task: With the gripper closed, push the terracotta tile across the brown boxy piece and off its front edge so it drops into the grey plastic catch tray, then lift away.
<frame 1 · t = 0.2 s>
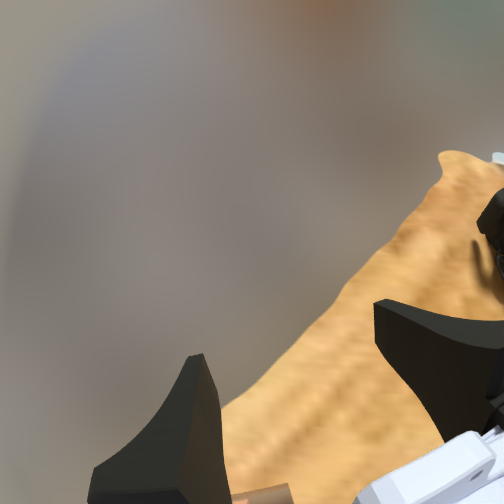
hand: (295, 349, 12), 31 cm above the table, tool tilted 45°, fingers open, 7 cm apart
milk frother: (503, 253, 46), on the table
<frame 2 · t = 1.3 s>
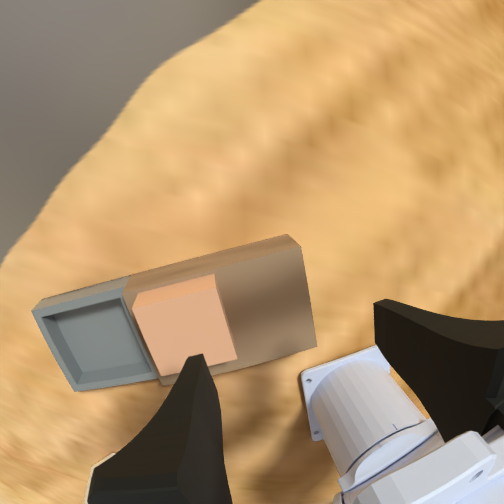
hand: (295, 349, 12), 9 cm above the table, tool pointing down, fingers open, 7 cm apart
tile: (187, 318, 18), point 3 cm above the table, touching brown boxy piece
brown boxy piece: (221, 302, 22), on the table
tray: (102, 331, 21), on the table
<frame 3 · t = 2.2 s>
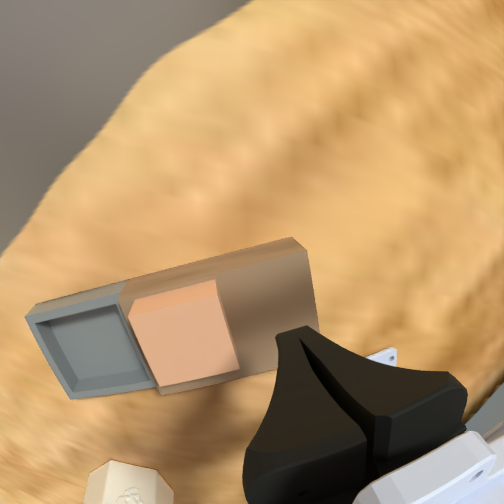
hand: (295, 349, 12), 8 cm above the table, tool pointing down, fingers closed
jar: (131, 481, 25), on the table
tile: (186, 325, 17), point 3 cm above the table, touching brown boxy piece
brown boxy piece: (222, 308, 21), on the table
tray: (98, 337, 20), on the table
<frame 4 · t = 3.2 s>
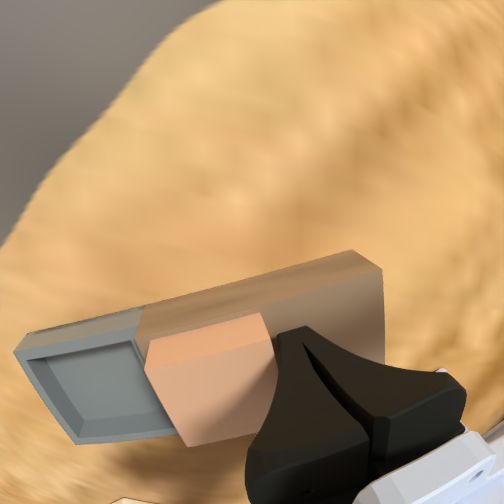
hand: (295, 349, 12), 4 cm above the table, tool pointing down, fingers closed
tile: (219, 370, 13), point 3 cm above the table, touching gripper, brown boxy piece
brown boxy piece: (265, 338, 16), on the table
tray: (106, 374, 16), on the table
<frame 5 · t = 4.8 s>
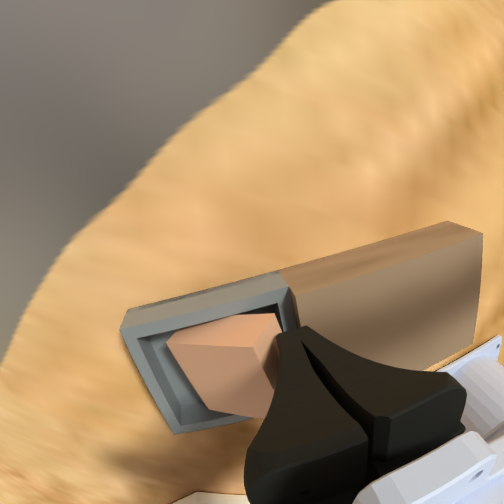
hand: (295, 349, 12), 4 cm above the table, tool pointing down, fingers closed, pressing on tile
tile: (247, 353, 14), point 2 cm above the table, tilted 37°, touching gripper
brown boxy piece: (379, 302, 17), on the table
tray: (220, 350, 16), on the table
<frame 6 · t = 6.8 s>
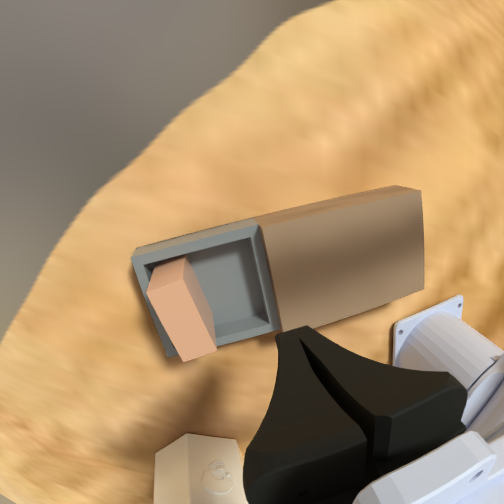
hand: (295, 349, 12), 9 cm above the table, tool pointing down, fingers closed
jar: (201, 457, 26), on the table
tile: (199, 298, 18), point 3 cm above the table, tilted 90°, touching tray
brown boxy piece: (337, 249, 22), on the table
tray: (207, 283, 21), on the table
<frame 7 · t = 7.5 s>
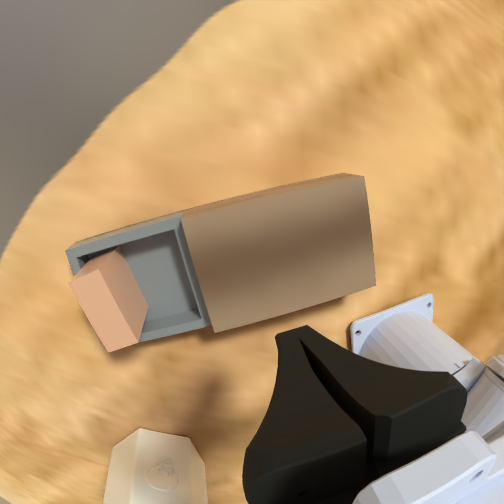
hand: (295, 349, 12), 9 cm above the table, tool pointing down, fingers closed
jar: (158, 454, 25), on the table
tile: (126, 290, 18), point 3 cm above the table, tilted 90°, touching tray
brown boxy piece: (277, 242, 21), on the table
tray: (143, 277, 20), on the table
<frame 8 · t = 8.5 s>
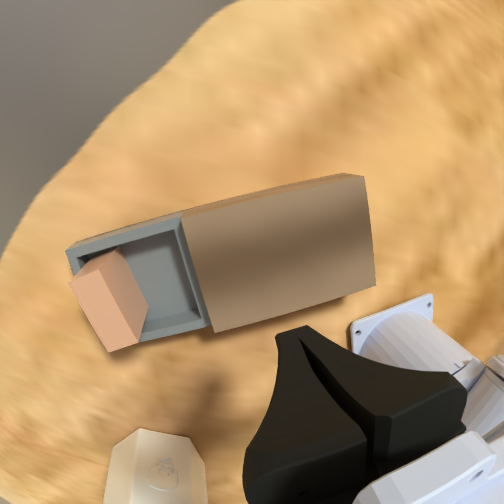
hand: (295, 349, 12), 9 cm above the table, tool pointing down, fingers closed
jar: (158, 454, 25), on the table
tile: (126, 290, 18), point 3 cm above the table, tilted 90°, touching tray
brown boxy piece: (277, 242, 21), on the table
tray: (143, 277, 20), on the table
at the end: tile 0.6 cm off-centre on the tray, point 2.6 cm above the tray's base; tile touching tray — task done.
